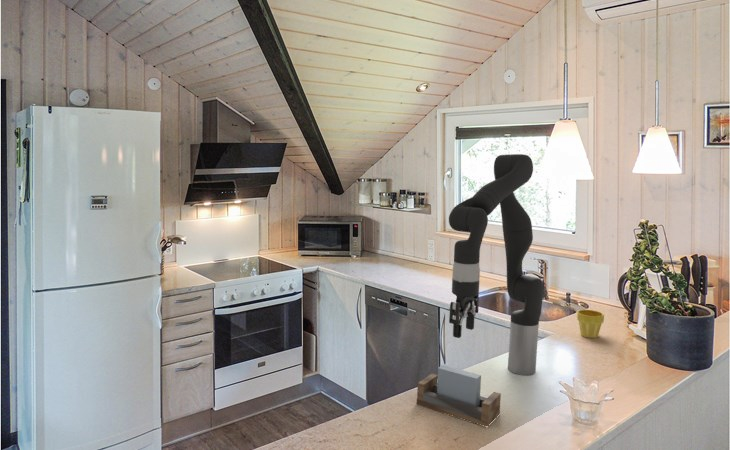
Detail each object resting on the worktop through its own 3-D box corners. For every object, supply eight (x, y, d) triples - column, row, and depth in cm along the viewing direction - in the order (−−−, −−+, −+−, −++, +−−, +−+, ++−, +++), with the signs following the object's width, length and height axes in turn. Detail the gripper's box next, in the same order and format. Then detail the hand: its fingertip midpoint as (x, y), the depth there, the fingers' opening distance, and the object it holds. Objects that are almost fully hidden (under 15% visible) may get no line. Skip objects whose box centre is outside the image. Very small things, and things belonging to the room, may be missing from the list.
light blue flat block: (441, 396, 155) (442, 364, 154) (479, 408, 148) (481, 375, 147) (436, 400, 153) (438, 367, 152) (475, 412, 146) (476, 378, 145)
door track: (431, 393, 161) (432, 373, 160) (499, 415, 148) (501, 393, 147) (416, 404, 154) (417, 383, 153) (487, 427, 141) (488, 405, 140)
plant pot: (570, 332, 222) (572, 309, 220) (591, 330, 224) (592, 308, 223) (586, 340, 212) (588, 317, 210) (608, 338, 214) (610, 315, 213)
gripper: (464, 271, 154) (462, 324, 157) (442, 280, 143) (440, 337, 145) (488, 274, 150) (485, 329, 152) (467, 284, 139) (465, 343, 141)
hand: (463, 333), depth 149 cm, fingers open, 8 cm apart
